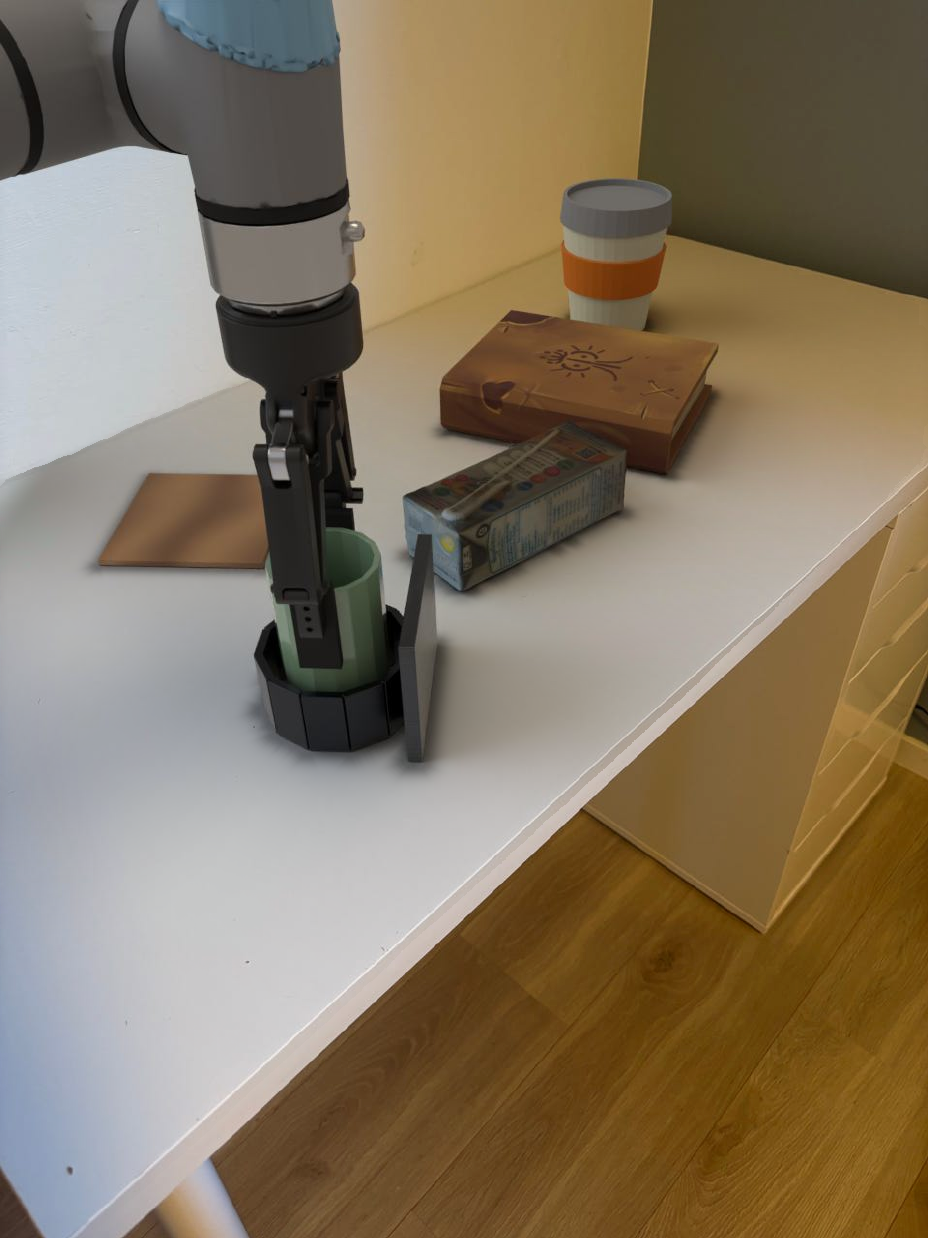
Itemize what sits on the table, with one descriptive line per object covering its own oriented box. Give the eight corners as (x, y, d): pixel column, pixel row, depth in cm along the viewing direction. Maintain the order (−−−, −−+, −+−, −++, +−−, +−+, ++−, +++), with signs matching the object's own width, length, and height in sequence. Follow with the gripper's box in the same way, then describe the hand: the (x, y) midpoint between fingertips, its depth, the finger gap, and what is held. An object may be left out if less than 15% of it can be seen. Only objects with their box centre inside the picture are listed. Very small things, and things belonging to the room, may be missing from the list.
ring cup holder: (249, 756, 66) (223, 643, 60) (285, 640, 75) (266, 530, 69) (422, 762, 66) (414, 647, 59) (437, 643, 75) (432, 533, 68)
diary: (440, 433, 100) (438, 380, 96) (510, 358, 113) (510, 309, 109) (664, 478, 92) (671, 422, 89) (711, 393, 105) (719, 341, 102)
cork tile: (99, 565, 84) (97, 559, 83) (150, 478, 94) (148, 472, 94) (263, 568, 83) (262, 562, 82) (295, 480, 93) (294, 474, 93)
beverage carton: (401, 552, 84) (396, 485, 80) (566, 475, 93) (569, 411, 89) (459, 597, 79) (458, 528, 75) (628, 511, 88) (635, 445, 84)
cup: (281, 731, 68) (254, 592, 60) (301, 661, 74) (278, 526, 66) (385, 734, 68) (371, 595, 60) (397, 663, 73) (386, 528, 65)
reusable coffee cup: (650, 350, 114) (664, 215, 104) (544, 338, 117) (548, 206, 108) (667, 308, 123) (682, 181, 114) (568, 298, 126) (574, 174, 117)
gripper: (324, 373, 44) (367, 736, 58) (381, 224, 59) (404, 540, 74) (158, 371, 44) (241, 732, 59) (258, 224, 60) (304, 538, 74)
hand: (331, 624), depth 66 cm, fingers closed on cup, 7 cm apart
